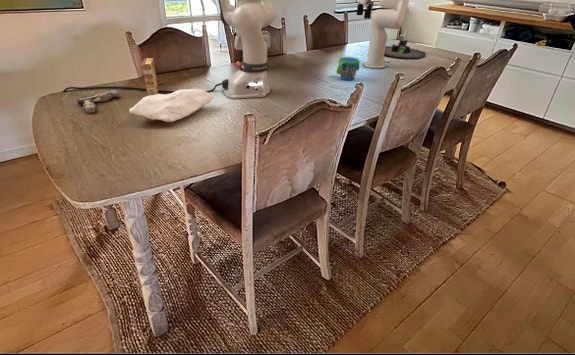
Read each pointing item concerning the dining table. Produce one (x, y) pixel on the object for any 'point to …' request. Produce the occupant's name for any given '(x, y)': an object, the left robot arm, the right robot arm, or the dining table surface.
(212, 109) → the dining table surface
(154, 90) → the candy box
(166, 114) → the crumpled cloth
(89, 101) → the handgun
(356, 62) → the snack cup
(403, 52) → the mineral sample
